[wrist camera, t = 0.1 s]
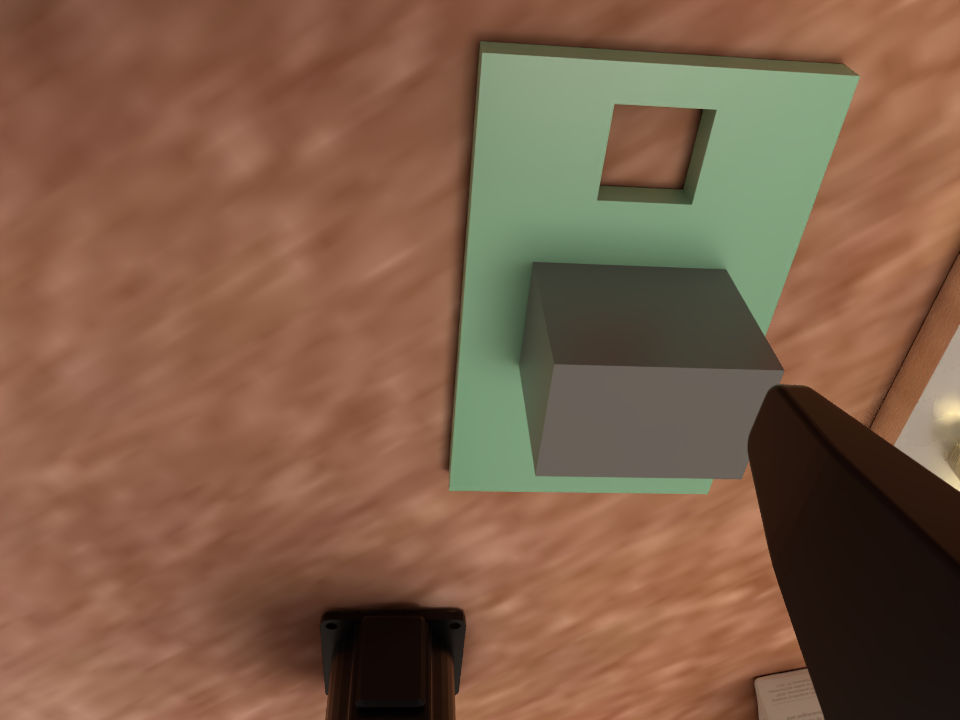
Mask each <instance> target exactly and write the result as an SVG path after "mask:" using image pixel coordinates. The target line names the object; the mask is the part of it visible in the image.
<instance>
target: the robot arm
mask: <svg viewBox="0 0 960 720" xmlns="http://www.w3.org/2000/svg"><path fill="white" fill-rule="evenodd" d="M747 451H748V457H749V462H750V467H751V471H752V476H753V481H754V485H755V490H756V494H757V499H758V504H759V508H760V513H761V517H762V522H763V527H764V531H765V536H766V541H767V545H768V549H769V553H770V557H771V561H772V565H773V568H774V571H775V575H776V578H777V581H778V584H779V587H780V590H781V593H782V596H783V599H784V602H785V605H786V608H787V611H788V613H789V616H790V619H791V622H792V625H793V628H794V631H795V634H796V637H797V640H798V643H799V646H800V649H801V652H802V655H803V658H804V660H805V663H806V666H807V669H808V672H809V675H810V678H811V681H812V684H813V687H814V690H815V693H816V696H817V699H818V702H819V704H820V707H821V710H822V713H823V716H824V719H825V720H960V491H958V490H957V489H955V488H954V487H952V486H951V485H950V484H948V483H947V482H945V481H944V480H942V479H941V478H940V477H938V476H937V475H935V474H934V473H932V472H931V471H929V470H928V469H927V468H925V467H924V466H922V465H921V464H919V463H918V462H916V461H915V460H914V459H912V458H911V457H909V456H908V455H906V454H905V453H904V452H902V451H901V450H899V449H898V448H896V447H895V446H893V445H892V444H891V443H889V442H888V441H886V440H885V439H883V438H882V437H880V436H879V435H878V434H876V433H875V432H873V431H872V430H870V429H869V428H868V427H866V426H865V425H863V424H862V423H860V422H859V421H857V420H856V419H855V418H853V417H852V416H850V415H849V414H847V413H846V412H845V411H843V410H842V409H840V408H839V407H837V406H836V405H834V404H833V403H832V402H830V401H829V400H827V399H826V398H824V397H823V396H822V395H820V394H819V393H817V392H816V391H814V390H813V389H811V388H810V387H807V386H803V385H785V384H777V385H774V386H772V387H771V388H770V389H769V390H768V392H767V393H766V395H765V398H764V400H763V402H762V405H761V407H760V409H759V412H758V414H757V416H756V419H755V421H754V424H753V426H752V428H751V431H750V433H749V437H748V443H747ZM465 630H466V618H465V615H464V614H463V613H460V612H327V613H325V614H323V615H322V617H321V623H320V631H321V644H322V656H323V668H324V681H325V693H326V695H328V700H327V709H326V719H325V720H456V719H455V695H456V694H458V692H459V684H460V675H461V666H462V657H463V648H464V639H465Z"/></svg>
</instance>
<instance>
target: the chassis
mask: <svg viewBox="0 0 960 720" xmlns="http://www.w3.org/2000/svg"><path fill="white" fill-rule="evenodd" d="M870 430H872V431H873V432H875V433H876V434H878V435H879V436H880V437H882V438H883V439H885V440H886V441H888V442H889V443H891V444H892V445H893V446H895V447H896V448H898V449H899V450H901V451H902V452H904V453H905V454H906V455H908V456H909V457H911V458H912V459H914V460H915V461H916V462H918V463H919V464H921V465H922V466H924V467H925V468H927V469H928V470H929V471H931V472H932V473H934V474H935V475H937V476H938V477H940V478H941V479H942V480H944V481H945V482H947V483H948V484H950V485H951V486H952V487H954V488H955V489H957V490H958V491H960V253H959V255H958V257H957V259H956V261H955V263H954V265H953V267H952V269H951V271H950V272H949V274H948V276H947V278H946V280H945V282H944V284H943V286H942V288H941V290H940V292H939V294H938V296H937V298H936V300H935V302H934V304H933V306H932V308H931V310H930V312H929V314H928V316H927V318H926V320H925V322H924V324H923V326H922V328H921V329H920V331H919V333H918V335H917V337H916V339H915V341H914V343H913V345H912V347H911V349H910V351H909V353H908V355H907V357H906V359H905V361H904V363H903V365H902V367H901V369H900V371H899V373H898V375H897V377H896V379H895V381H894V383H893V385H892V386H891V388H890V390H889V392H888V394H887V396H886V398H885V400H884V402H883V404H882V406H881V408H880V410H879V412H878V414H877V416H876V418H875V420H874V422H873V424H872V426H871V428H870Z"/></svg>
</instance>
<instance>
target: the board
mask: <svg viewBox="0 0 960 720" xmlns="http://www.w3.org/2000/svg"><path fill="white" fill-rule="evenodd" d="M859 78H860V76H859V75H858V74H857V73H855V72H854V71H853V70H851V69H850V68H849V67H847V66H846V65H845V64H833V63H817V62H801V61H786V60H770V59H754V58H738V57H722V56H707V55H691V54H675V53H659V52H644V51H628V50H612V49H596V48H580V47H565V46H549V45H533V44H517V43H502V42H486V41H480V50H479V63H478V77H477V91H476V104H475V118H474V132H473V145H472V159H471V173H470V186H469V200H468V214H467V227H466V241H465V254H464V268H463V282H462V295H461V309H460V323H459V336H458V350H457V364H456V377H455V391H454V405H453V418H452V432H451V446H450V459H449V491H510V492H588V493H667V494H708V492H709V489H710V487H711V484H712V481H713V479H742V477H743V474H744V472H745V469H746V467H747V464H748V461H749V457H748V451H747V443H748V437H749V433H750V431H751V428H752V426H753V424H754V421H755V419H756V416H757V414H758V412H759V409H760V407H761V405H762V402H763V400H764V398H765V395H766V393H767V392H768V390H769V389H770V388H771V387H772V386H774V385H777V384H779V383H780V381H781V378H782V376H783V373H784V369H783V367H782V365H781V364H780V362H779V360H778V358H777V357H776V355H775V353H774V351H773V350H772V348H771V346H770V345H769V343H768V341H767V339H766V338H765V336H766V333H767V330H768V327H769V325H770V322H771V319H772V317H773V314H774V311H775V308H776V306H777V303H778V300H779V297H780V295H781V292H782V289H783V286H784V284H785V281H786V278H787V275H788V273H789V270H790V267H791V264H792V262H793V259H794V256H795V253H796V251H797V248H798V245H799V242H800V240H801V237H802V234H803V232H804V229H805V226H806V223H807V221H808V218H809V215H810V212H811V210H812V207H813V204H814V201H815V199H816V196H817V193H818V190H819V188H820V185H821V182H822V179H823V177H824V174H825V171H826V168H827V166H828V163H829V160H830V157H831V155H832V152H833V149H834V147H835V144H836V141H837V138H838V136H839V133H840V130H841V127H842V125H843V122H844V119H845V116H846V114H847V111H848V108H849V105H850V103H851V100H852V97H853V94H854V92H855V89H856V86H857V83H858V81H859ZM614 104H626V105H644V106H661V107H679V108H696V109H703V113H702V116H701V120H700V124H699V128H698V132H697V136H696V140H695V144H694V148H693V152H692V156H691V160H690V164H689V168H688V172H687V176H686V180H685V184H684V188H683V190H681V189H660V188H639V187H618V186H600V181H601V175H602V170H603V164H604V159H605V153H606V147H607V142H608V136H609V131H610V125H611V120H612V114H613V109H614Z"/></svg>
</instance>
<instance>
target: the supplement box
mask: <svg viewBox="0 0 960 720" xmlns="http://www.w3.org/2000/svg"><path fill="white" fill-rule="evenodd" d="M754 684H755V690H756V695H757V703H758V715H759V720H825V719H824V716H823V713H822V710H821V707H820V704H819V702H818V699H817V696H816V693H815V690H814V687H813V684H812V681H811V678H810V675H809V672H808V669H802V670H797V671H791V672H786V673H780V674H773V675H768V676H764V677H759V678H757V679H756V680H755V682H754Z"/></svg>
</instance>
